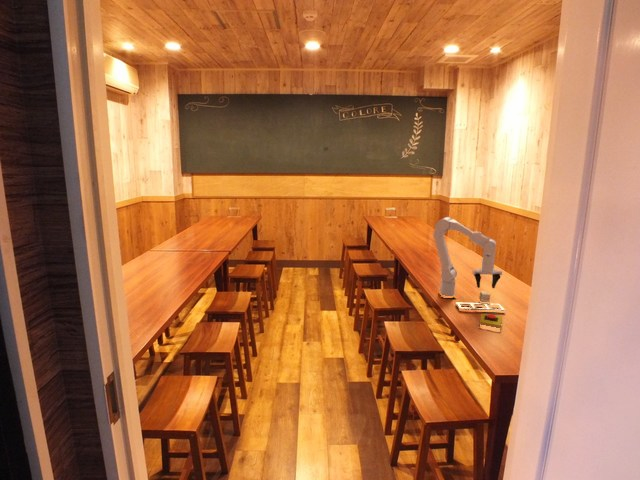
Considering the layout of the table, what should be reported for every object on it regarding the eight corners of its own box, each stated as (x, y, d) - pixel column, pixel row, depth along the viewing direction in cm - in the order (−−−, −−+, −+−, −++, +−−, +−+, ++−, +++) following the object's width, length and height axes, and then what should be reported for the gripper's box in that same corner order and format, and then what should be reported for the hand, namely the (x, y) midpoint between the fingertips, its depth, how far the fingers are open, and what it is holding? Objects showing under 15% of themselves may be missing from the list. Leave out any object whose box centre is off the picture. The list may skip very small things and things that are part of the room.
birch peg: (478, 302, 212) (479, 291, 211) (486, 302, 212) (487, 291, 210) (481, 304, 208) (482, 294, 207) (489, 305, 208) (490, 294, 206)
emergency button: (503, 313, 187) (501, 325, 174) (502, 322, 188) (500, 334, 175) (482, 309, 191) (478, 320, 178) (481, 318, 192) (477, 329, 179)
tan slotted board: (455, 305, 206) (455, 302, 206) (498, 307, 204) (499, 303, 204) (459, 311, 198) (460, 308, 198) (504, 313, 197) (505, 309, 196)
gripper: (476, 264, 201) (473, 289, 204) (505, 265, 200) (502, 290, 203) (472, 260, 208) (469, 285, 211) (500, 261, 207) (497, 286, 210)
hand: (485, 287), depth 208 cm, fingers open, 7 cm apart
